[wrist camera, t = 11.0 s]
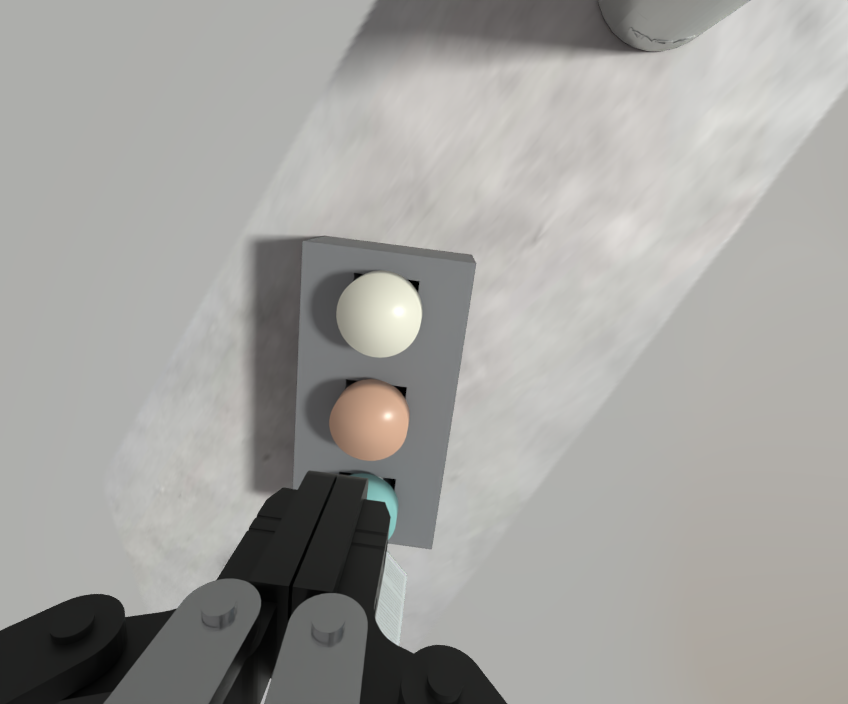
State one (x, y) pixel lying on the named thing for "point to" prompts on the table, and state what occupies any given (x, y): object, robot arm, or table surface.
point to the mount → (383, 370)
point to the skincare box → (391, 600)
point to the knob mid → (370, 420)
